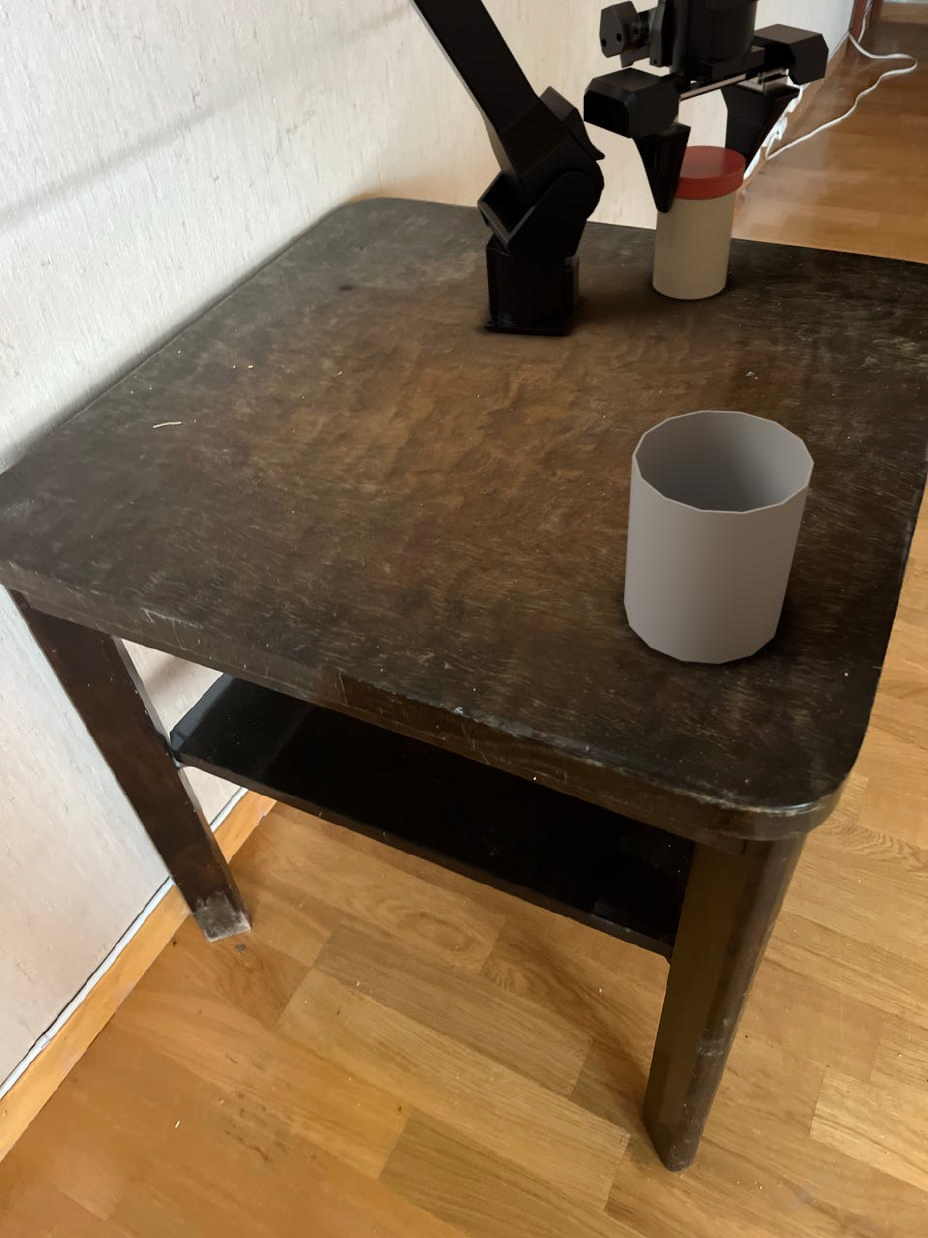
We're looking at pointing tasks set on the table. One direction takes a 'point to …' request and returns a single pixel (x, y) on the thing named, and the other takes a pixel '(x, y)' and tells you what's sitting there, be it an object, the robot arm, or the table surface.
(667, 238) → the jar
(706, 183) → the lid
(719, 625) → the cup
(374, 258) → the table surface
